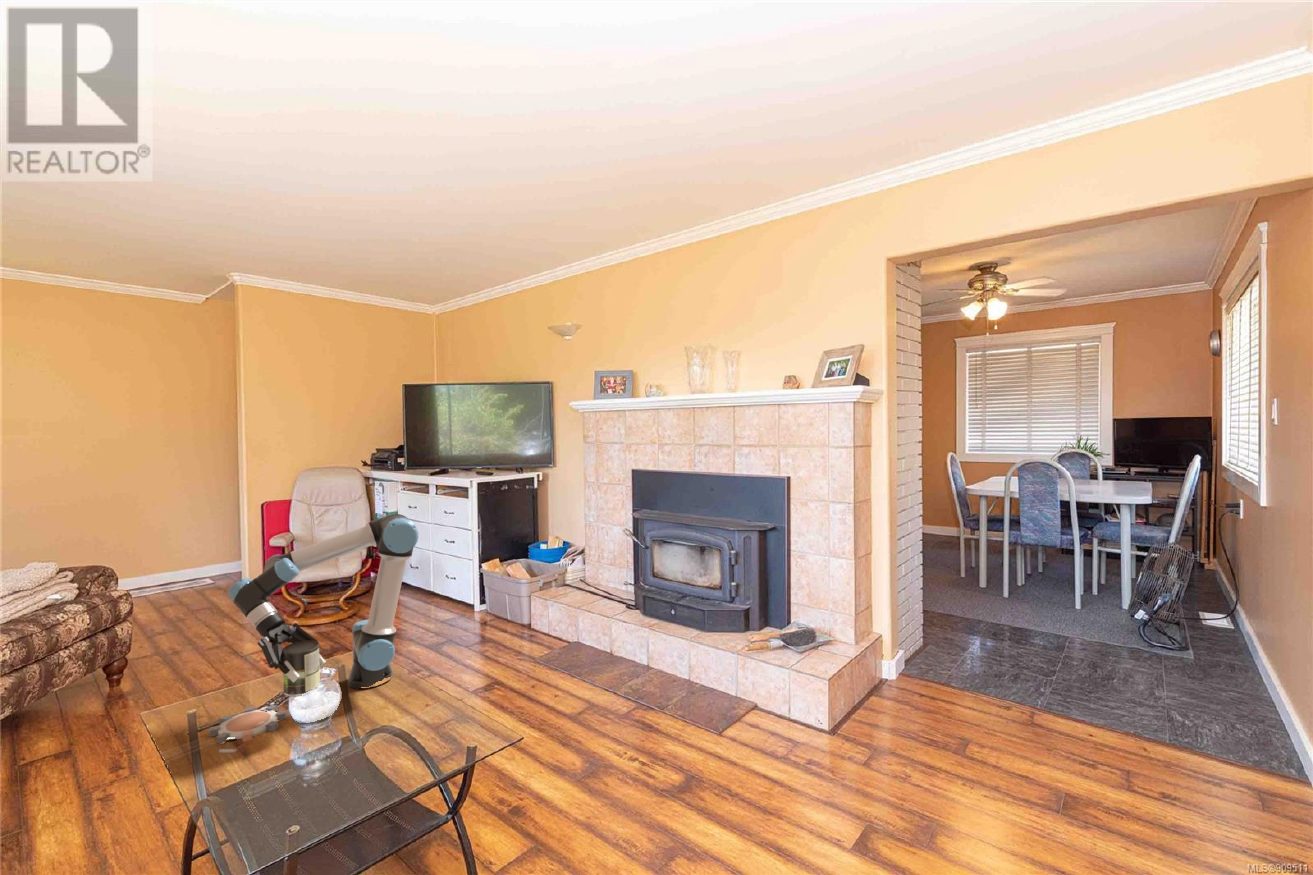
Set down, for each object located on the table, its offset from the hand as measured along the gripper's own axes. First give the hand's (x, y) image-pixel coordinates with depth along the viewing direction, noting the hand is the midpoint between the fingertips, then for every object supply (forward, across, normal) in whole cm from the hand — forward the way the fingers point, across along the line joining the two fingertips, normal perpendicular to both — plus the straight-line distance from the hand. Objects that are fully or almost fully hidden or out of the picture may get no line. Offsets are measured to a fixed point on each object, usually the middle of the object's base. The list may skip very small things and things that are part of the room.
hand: (309, 671), depth 190 cm
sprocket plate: (-2, +2, -29) cm, 29 cm away
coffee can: (+2, 0, -7) cm, 7 cm away
